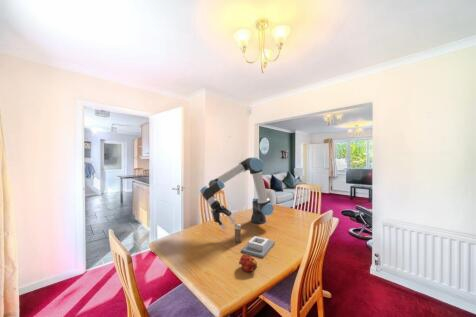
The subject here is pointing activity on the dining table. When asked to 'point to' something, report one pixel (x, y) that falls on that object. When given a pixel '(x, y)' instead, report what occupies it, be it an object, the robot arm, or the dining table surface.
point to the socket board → (258, 252)
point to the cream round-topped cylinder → (237, 233)
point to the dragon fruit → (248, 263)
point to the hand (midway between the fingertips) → (229, 225)
